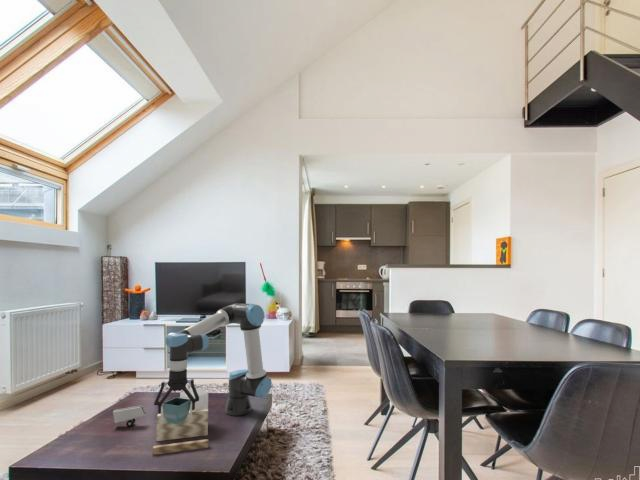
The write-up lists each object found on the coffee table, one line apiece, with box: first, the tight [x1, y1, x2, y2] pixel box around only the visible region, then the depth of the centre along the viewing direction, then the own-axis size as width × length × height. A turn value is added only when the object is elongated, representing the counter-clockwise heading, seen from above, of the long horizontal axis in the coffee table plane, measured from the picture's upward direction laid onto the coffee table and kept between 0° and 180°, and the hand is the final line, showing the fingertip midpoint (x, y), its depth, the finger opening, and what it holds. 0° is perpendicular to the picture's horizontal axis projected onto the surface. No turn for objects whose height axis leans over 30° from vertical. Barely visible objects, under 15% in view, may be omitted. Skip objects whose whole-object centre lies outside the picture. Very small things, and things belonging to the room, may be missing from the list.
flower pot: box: [163, 397, 191, 424], centre depth 170 cm, size 9×9×9 cm
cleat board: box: [152, 408, 209, 456], centre depth 183 cm, size 24×16×12 cm, turn 107°
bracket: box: [112, 405, 147, 428], centre depth 202 cm, size 4×10×15 cm
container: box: [179, 387, 209, 411], centre depth 202 cm, size 14×14×18 cm
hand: (176, 418), depth 169 cm, fingers closed on flower pot, 11 cm apart
